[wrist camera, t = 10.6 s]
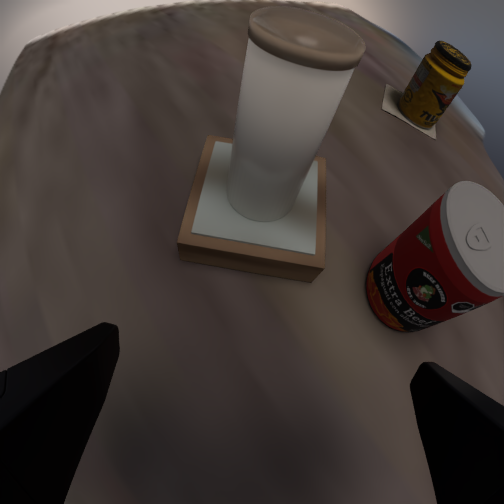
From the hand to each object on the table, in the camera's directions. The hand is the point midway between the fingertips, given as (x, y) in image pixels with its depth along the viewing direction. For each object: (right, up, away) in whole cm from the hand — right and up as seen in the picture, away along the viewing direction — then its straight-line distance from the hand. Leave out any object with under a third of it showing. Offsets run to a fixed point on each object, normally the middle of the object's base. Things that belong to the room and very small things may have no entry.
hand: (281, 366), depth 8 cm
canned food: (+12, 0, +17) cm, 21 cm away
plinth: (-1, +6, +18) cm, 19 cm away
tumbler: (0, +7, +15) cm, 16 cm away
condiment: (+21, +22, +28) cm, 42 cm away
